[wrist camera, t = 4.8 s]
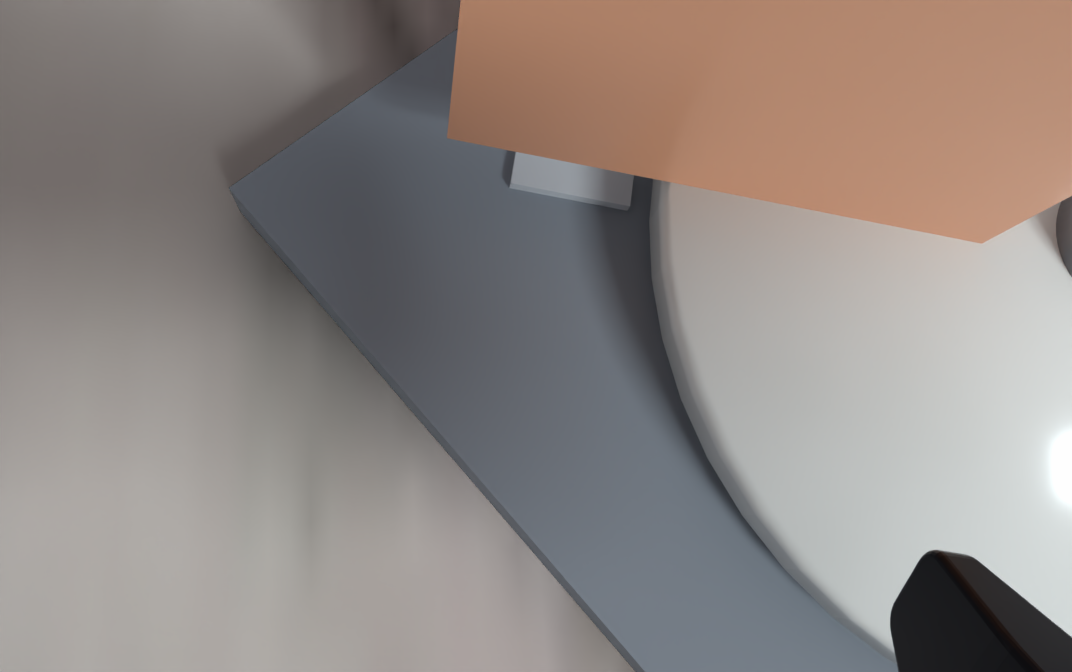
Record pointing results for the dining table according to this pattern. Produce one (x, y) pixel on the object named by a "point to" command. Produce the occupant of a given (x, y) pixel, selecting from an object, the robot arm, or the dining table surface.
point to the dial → (836, 258)
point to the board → (539, 368)
